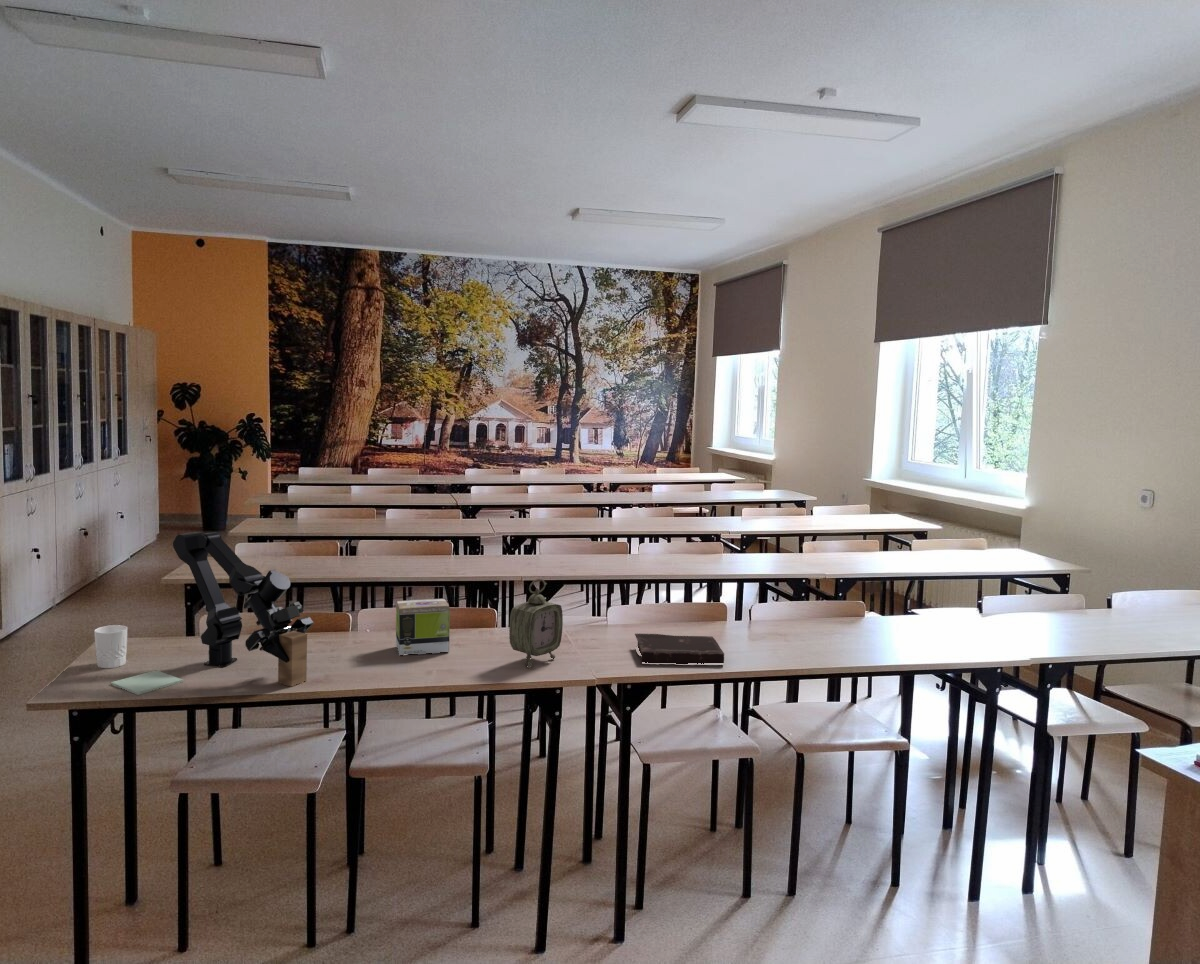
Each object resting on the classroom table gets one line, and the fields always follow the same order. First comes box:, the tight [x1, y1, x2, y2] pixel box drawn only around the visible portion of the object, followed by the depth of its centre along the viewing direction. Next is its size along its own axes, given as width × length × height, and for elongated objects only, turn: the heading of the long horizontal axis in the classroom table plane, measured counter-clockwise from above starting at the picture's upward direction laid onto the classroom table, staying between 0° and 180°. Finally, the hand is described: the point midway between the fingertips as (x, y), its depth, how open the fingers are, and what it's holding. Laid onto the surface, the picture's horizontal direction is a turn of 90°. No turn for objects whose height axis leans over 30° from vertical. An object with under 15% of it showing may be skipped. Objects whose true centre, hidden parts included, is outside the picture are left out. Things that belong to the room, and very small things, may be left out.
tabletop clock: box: [508, 578, 564, 668], centre depth 248 cm, size 14×9×25 cm, turn 143°
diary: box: [634, 633, 725, 664], centre depth 261 cm, size 19×25×5 cm
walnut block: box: [277, 631, 308, 687], centre depth 223 cm, size 5×5×13 cm
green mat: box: [110, 670, 184, 695], centre depth 219 cm, size 12×12×1 cm
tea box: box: [395, 598, 451, 656], centre depth 255 cm, size 15×10×15 cm, turn 109°
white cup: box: [93, 624, 128, 669], centre depth 231 cm, size 8×8×10 cm
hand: (296, 659), depth 223 cm, fingers closed on walnut block, 5 cm apart
